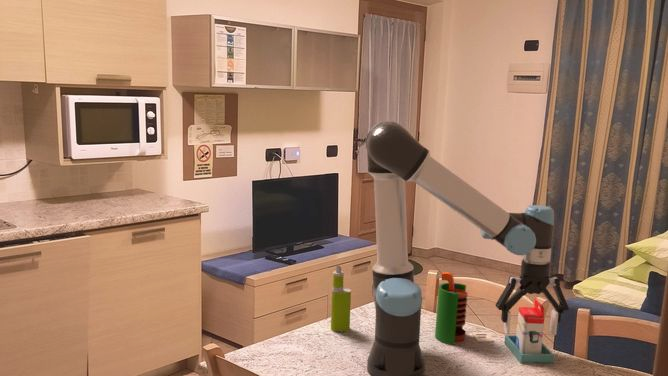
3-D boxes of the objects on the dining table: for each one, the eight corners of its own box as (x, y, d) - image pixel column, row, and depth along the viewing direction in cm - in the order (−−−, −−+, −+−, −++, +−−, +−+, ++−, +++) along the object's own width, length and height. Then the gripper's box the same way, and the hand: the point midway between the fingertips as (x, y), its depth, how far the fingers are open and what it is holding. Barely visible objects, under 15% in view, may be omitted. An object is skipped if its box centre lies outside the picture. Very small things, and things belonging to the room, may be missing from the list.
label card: (477, 341, 172) (477, 340, 172) (471, 333, 178) (471, 332, 178) (493, 341, 172) (493, 340, 172) (487, 333, 178) (487, 332, 178)
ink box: (514, 344, 170) (518, 296, 167) (531, 345, 170) (535, 297, 167) (523, 357, 161) (528, 307, 159) (541, 358, 161) (546, 308, 159)
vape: (330, 326, 180) (331, 264, 177) (349, 326, 181) (351, 265, 177) (330, 331, 177) (332, 268, 174) (350, 331, 177) (352, 268, 174)
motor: (465, 346, 169) (469, 280, 166) (434, 342, 171) (438, 277, 167) (464, 332, 179) (468, 270, 176) (435, 329, 180) (439, 267, 177)
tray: (520, 363, 159) (521, 354, 158) (504, 343, 172) (504, 335, 171) (553, 363, 159) (554, 354, 159) (534, 343, 172) (535, 335, 172)
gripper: (496, 264, 157) (491, 338, 160) (585, 265, 158) (578, 338, 162) (487, 256, 164) (482, 327, 167) (573, 257, 166) (566, 327, 169)
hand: (529, 333), depth 165 cm, fingers open, 13 cm apart
